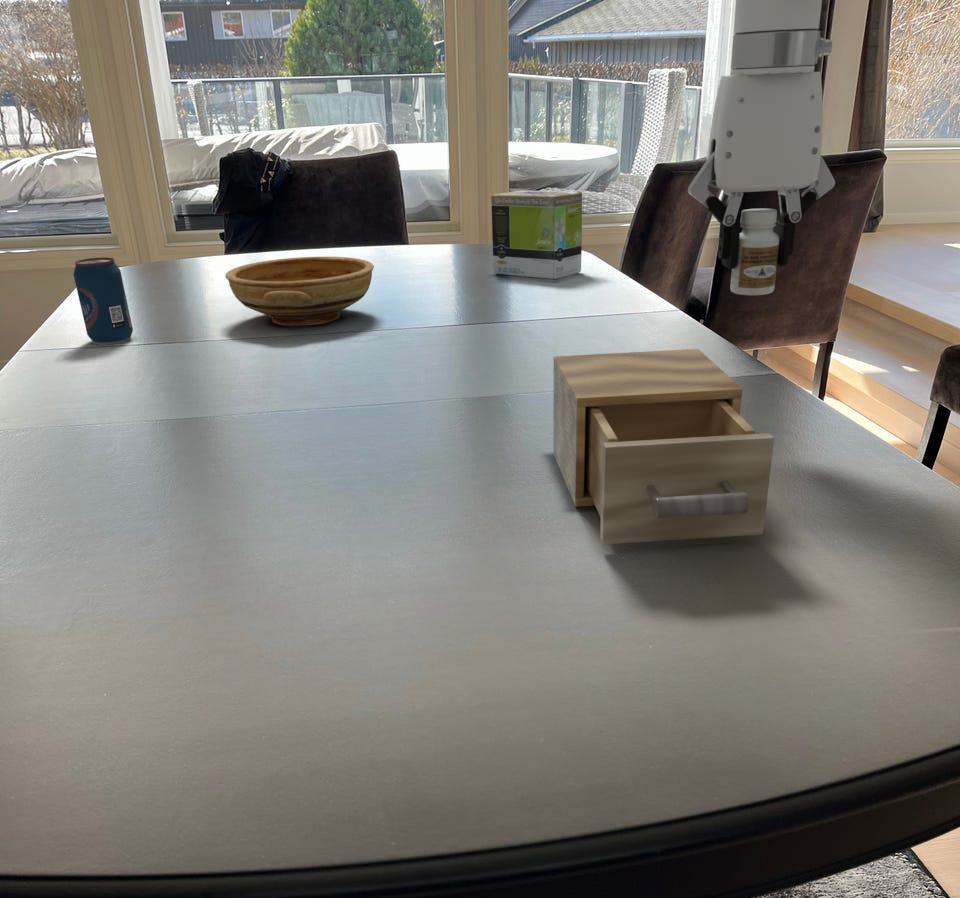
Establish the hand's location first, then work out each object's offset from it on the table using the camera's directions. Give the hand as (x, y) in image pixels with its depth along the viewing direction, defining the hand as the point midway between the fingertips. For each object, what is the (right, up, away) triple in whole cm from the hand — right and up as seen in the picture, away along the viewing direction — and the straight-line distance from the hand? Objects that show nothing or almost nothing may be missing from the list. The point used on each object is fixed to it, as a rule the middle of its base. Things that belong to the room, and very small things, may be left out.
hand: (754, 263), depth 99 cm
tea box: (-17, +34, +94) cm, 101 cm away
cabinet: (-12, -22, -3) cm, 25 cm away
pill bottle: (0, -3, +1) cm, 3 cm away
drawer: (-11, -28, -15) cm, 34 cm away
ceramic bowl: (-57, +16, +65) cm, 88 cm away
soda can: (-86, +9, +56) cm, 103 cm away
